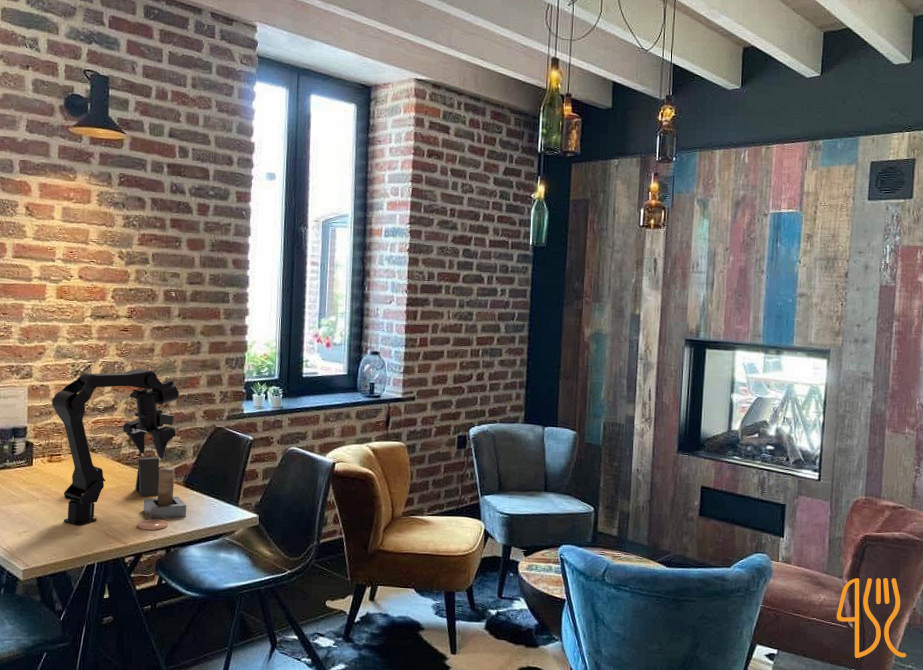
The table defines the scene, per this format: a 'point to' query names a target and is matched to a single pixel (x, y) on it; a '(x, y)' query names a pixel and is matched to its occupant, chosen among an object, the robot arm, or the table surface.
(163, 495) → the walnut peg
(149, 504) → the metal socket
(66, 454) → the table surface
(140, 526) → the terracotta coaster
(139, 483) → the door stopper
